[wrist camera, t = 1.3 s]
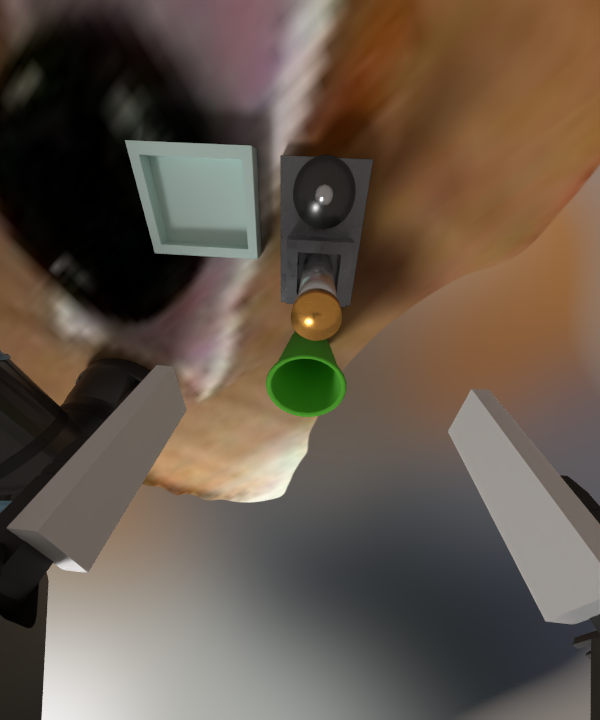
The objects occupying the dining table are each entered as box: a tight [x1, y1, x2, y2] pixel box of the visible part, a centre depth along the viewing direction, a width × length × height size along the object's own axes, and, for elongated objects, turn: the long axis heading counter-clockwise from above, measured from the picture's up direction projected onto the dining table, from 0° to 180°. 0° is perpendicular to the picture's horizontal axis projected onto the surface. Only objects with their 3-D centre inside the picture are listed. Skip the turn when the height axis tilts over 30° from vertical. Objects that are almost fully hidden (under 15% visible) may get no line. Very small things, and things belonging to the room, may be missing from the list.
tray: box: [125, 140, 262, 259], centre depth 28 cm, size 12×10×2 cm
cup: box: [266, 331, 346, 417], centre depth 33 cm, size 9×9×11 cm
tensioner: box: [281, 155, 373, 307], centre depth 28 cm, size 9×15×5 cm, turn 178°
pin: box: [291, 253, 342, 341], centre depth 25 cm, size 4×4×14 cm
